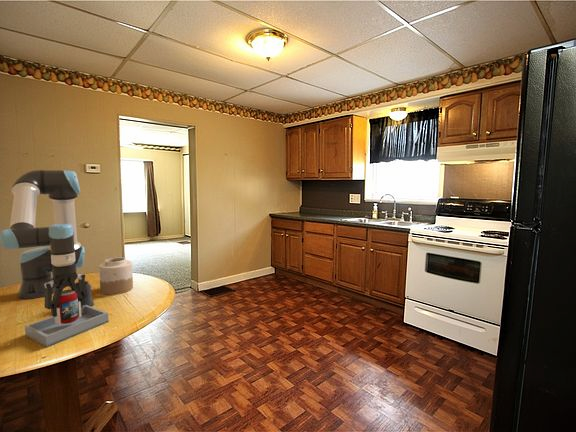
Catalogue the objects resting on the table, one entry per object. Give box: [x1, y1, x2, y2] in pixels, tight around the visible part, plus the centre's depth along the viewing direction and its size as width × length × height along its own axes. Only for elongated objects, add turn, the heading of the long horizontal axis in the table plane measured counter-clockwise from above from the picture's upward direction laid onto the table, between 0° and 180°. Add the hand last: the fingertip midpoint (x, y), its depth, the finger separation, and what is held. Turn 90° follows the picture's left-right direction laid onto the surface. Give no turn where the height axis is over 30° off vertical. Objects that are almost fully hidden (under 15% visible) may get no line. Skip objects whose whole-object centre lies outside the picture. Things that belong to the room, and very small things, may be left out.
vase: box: [98, 256, 134, 296], centre depth 160 cm, size 15×15×17 cm
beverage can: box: [57, 289, 79, 324], centre depth 118 cm, size 7×7×12 cm
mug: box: [70, 281, 95, 307], centre depth 140 cm, size 12×9×11 cm
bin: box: [24, 305, 110, 348], centre depth 119 cm, size 16×22×4 cm
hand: (68, 319), depth 119 cm, fingers closed on beverage can, 7 cm apart
